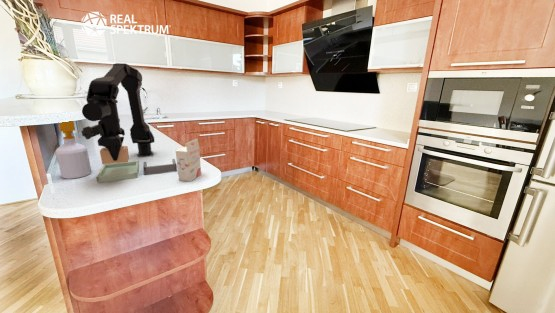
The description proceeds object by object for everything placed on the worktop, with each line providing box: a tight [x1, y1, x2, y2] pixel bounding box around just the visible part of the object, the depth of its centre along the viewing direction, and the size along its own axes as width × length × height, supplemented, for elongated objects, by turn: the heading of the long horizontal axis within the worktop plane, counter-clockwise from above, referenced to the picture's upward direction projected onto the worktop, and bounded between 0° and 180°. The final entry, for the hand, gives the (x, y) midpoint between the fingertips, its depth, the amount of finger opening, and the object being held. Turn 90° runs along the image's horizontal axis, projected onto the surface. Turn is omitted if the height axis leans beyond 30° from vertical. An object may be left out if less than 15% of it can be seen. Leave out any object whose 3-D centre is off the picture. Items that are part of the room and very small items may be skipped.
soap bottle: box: [55, 120, 93, 180], centre depth 91 cm, size 9×9×25 cm
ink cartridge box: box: [175, 138, 202, 182], centre depth 93 cm, size 9×5×15 cm, turn 168°
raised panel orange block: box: [99, 145, 130, 165], centre depth 94 cm, size 8×11×6 cm
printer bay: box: [142, 158, 178, 176], centre depth 101 cm, size 8×12×3 cm, turn 117°
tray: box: [96, 160, 140, 184], centre depth 97 cm, size 16×13×2 cm
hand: (116, 158), depth 92 cm, fingers closed on raised panel orange block, 5 cm apart
